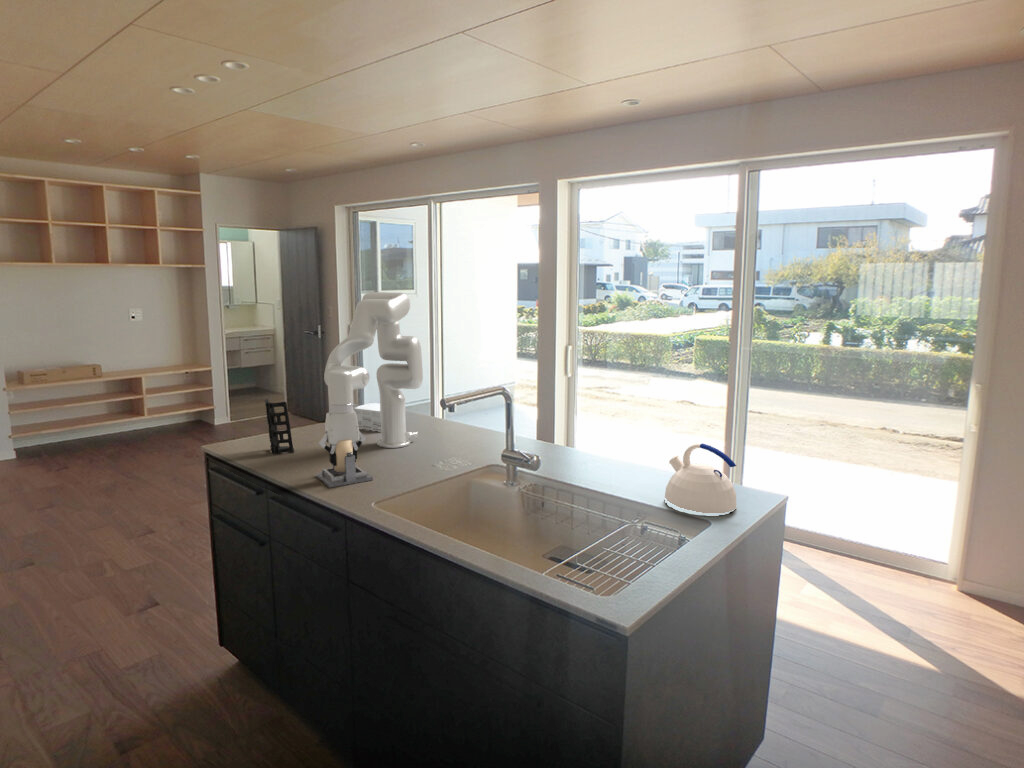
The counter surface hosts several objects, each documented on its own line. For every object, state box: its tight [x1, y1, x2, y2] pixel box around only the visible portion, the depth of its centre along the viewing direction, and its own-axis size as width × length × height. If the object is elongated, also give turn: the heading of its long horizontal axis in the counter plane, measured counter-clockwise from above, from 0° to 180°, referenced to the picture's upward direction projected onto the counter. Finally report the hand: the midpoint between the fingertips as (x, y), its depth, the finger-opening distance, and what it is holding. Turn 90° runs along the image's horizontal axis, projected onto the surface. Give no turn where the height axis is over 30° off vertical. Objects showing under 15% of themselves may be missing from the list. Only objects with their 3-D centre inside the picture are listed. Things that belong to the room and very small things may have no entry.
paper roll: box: [334, 440, 353, 472], centre depth 206 cm, size 6×6×10 cm
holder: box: [264, 398, 295, 455], centre depth 235 cm, size 11×8×20 cm
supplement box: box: [354, 402, 381, 433], centre depth 276 cm, size 17×13×9 cm
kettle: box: [664, 443, 737, 513], centre depth 183 cm, size 20×21×18 cm
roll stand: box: [315, 452, 374, 489], centre depth 206 cm, size 14×15×10 cm
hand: (343, 462), depth 206 cm, fingers closed on paper roll, 5 cm apart
